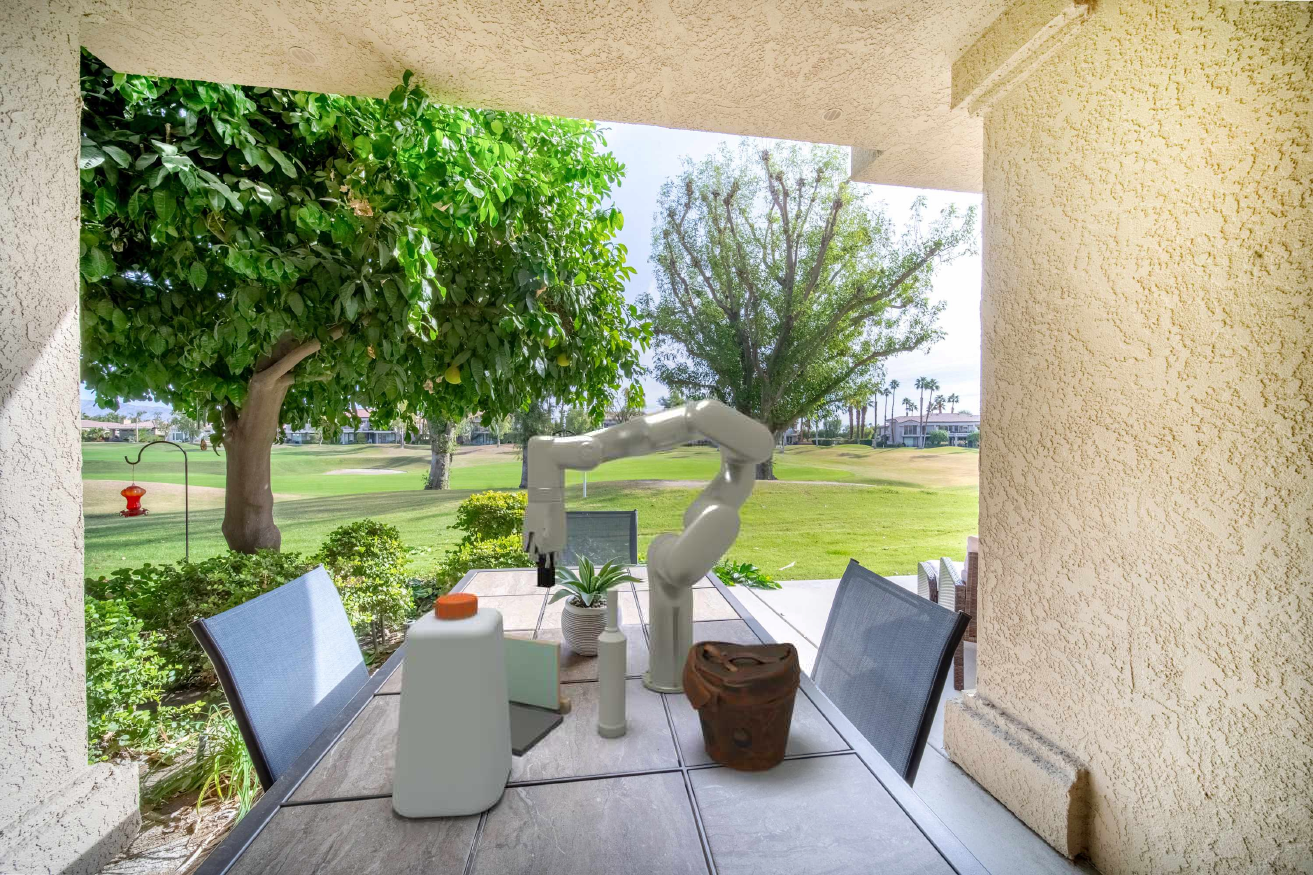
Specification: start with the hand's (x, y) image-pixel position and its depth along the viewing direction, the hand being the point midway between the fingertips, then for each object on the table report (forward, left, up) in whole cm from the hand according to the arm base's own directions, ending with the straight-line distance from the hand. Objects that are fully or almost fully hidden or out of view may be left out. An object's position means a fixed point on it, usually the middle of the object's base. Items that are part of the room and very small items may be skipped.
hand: (546, 586), depth 116 cm
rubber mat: (0, +14, -22) cm, 26 cm away
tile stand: (0, +4, -22) cm, 23 cm away
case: (-42, +6, -22) cm, 48 cm away
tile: (0, +7, -21) cm, 22 cm away
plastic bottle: (-5, +32, -22) cm, 39 cm away
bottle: (-19, +8, -22) cm, 30 cm away
